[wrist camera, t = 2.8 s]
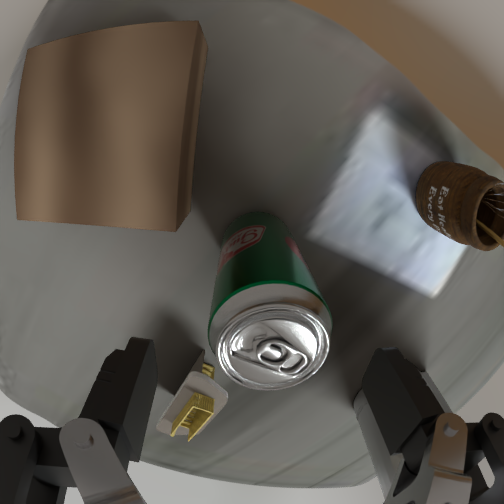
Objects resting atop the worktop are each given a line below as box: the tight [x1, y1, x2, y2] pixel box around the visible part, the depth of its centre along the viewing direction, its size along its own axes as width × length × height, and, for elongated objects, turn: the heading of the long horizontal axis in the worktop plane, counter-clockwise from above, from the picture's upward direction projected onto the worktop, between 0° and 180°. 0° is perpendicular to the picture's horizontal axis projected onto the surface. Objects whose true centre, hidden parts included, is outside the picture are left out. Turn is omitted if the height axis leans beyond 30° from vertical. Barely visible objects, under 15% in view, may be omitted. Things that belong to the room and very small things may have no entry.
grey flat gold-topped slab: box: [156, 350, 228, 441], centre depth 24 cm, size 12×18×7 cm, turn 150°
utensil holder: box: [416, 161, 504, 251], centre depth 15 cm, size 6×6×12 cm
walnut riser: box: [14, 21, 208, 232], centre depth 15 cm, size 12×12×5 cm
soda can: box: [208, 212, 333, 391], centre depth 16 cm, size 5×5×12 cm
